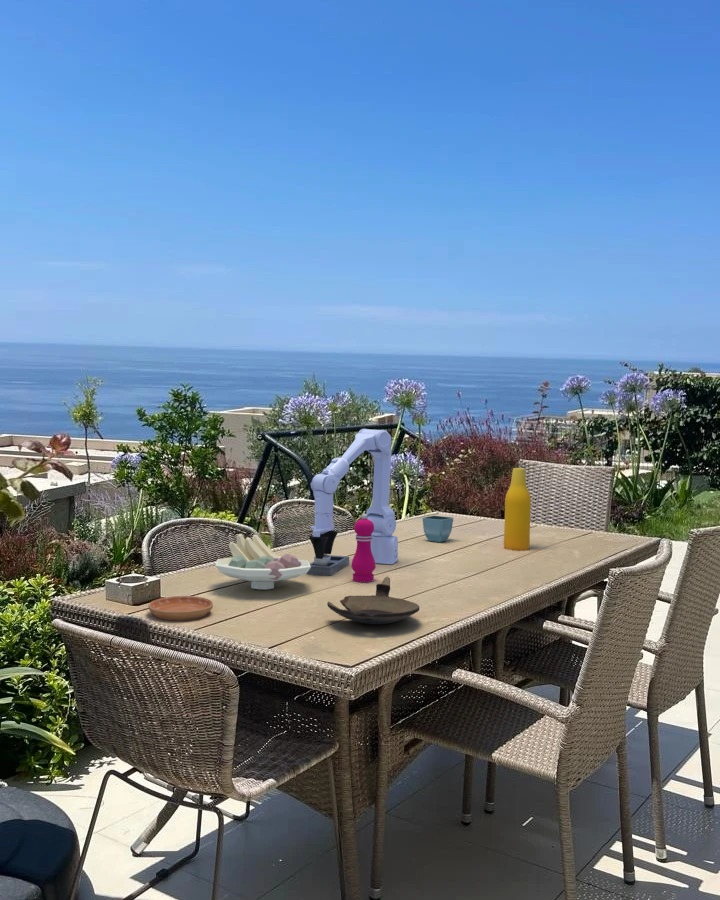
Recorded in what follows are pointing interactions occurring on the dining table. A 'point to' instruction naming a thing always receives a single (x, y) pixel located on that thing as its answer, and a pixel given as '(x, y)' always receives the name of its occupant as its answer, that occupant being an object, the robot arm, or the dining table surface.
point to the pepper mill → (363, 551)
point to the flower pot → (437, 528)
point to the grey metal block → (323, 561)
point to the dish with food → (260, 563)
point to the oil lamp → (376, 607)
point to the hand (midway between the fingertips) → (323, 556)
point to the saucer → (180, 607)
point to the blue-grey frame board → (335, 566)
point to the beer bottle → (517, 513)
